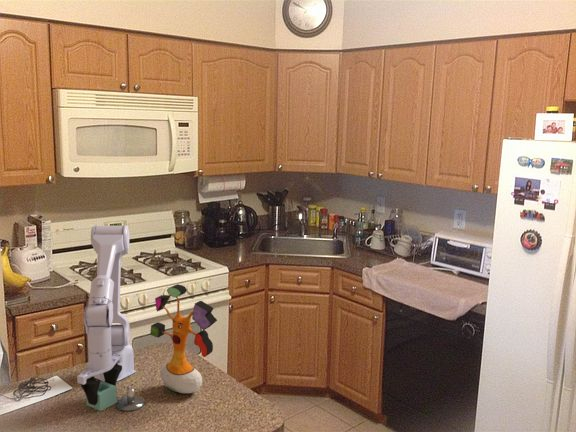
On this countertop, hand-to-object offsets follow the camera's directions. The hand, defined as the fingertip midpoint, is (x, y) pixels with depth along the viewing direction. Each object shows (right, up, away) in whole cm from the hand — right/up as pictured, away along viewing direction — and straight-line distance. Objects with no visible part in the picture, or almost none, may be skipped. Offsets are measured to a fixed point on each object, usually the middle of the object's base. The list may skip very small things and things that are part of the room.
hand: (101, 397), depth 145 cm
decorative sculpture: (+20, -1, +8) cm, 22 cm away
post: (+8, -2, 0) cm, 8 cm away
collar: (0, -2, 0) cm, 2 cm away
